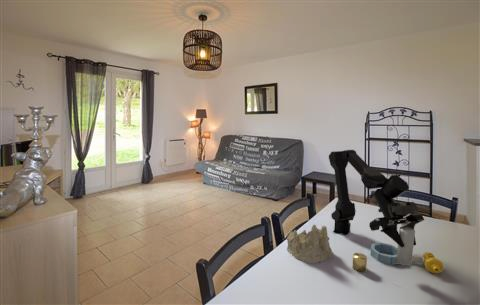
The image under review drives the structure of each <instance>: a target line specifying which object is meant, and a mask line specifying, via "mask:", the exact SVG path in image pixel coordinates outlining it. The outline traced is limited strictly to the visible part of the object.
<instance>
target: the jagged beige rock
mask: <svg viewBox="0 0 480 305" xmlns="http://www.w3.org/2000/svg"><path fill="white" fill-rule="evenodd" d="M286 240H287V246H286V251H287V252H288V253H289V254H290V255H291V254H292V257H293V256H294V257H293V258H295V259H297V260H299V259H300V261H301V260H302V261H303V262H304V261H306V262H305V263H307V262H310V263H309V264H319V262H321V263H323V262H324V261H325V260H328V259H329V258H331V257H332V256H333V250H332V248H331V246H330V242H329V240H330V237H329V235H328V230H327V226H326V225H322V226H321V229H320V228H318V227H317V224H312V226H311V230H310V231H308V232H307V231H306V229H304V230H302V231H301V232H300V233H298V232H297V230H296V229H294V230H293V231H292V230H291V231H290V232H289V233H288V235H287V236H286Z"/></svg>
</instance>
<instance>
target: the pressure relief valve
mask: <svg viewBox="0 0 480 305" xmlns="http://www.w3.org/2000/svg"><path fill="white" fill-rule="evenodd" d="M412 262H421V263H423V264H424V268H425V269H426V271H428V272H430V273H432V274H439V273H441V272H443V271H444V264H443V262H442V261H441V260H440V259H438V258H436V256H435V255H434V253H432V252H429V251H428V252H427V251H426V252H424V253H423V255H422V256H412Z"/></svg>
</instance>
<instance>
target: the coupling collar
mask: <svg viewBox="0 0 480 305" xmlns="http://www.w3.org/2000/svg"><path fill="white" fill-rule="evenodd" d="M397 249H398V247H396V246H394V245H392V244H390V243H389V244H388V243H384V242H376V243H375V242H374V243H371V246H370V253H369V254H370V256H371V258H373V259H375V260H376V261H377V262H380V263H383V264H387V265H397V264H399V263H398V262H397V260H396V258H397ZM382 252H385V253H382ZM386 253H389V254H386ZM390 254H391V255H390Z"/></svg>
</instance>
